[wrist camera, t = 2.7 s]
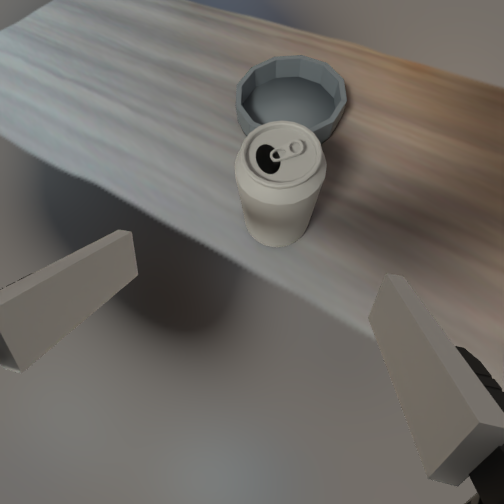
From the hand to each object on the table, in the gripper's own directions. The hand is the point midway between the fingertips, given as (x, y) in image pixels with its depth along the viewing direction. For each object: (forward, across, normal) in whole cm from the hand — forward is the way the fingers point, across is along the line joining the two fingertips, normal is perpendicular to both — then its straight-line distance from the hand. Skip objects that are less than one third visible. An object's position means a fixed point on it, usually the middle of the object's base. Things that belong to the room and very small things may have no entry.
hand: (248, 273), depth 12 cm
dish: (+30, -1, +10) cm, 31 cm away
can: (+18, 0, -3) cm, 18 cm away
